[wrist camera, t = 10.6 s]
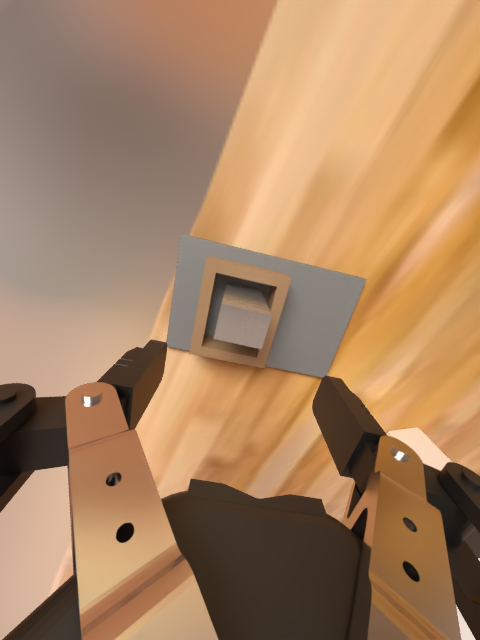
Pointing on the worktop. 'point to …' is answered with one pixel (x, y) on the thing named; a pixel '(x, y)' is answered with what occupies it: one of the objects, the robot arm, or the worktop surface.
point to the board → (281, 297)
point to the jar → (434, 459)
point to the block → (243, 316)
